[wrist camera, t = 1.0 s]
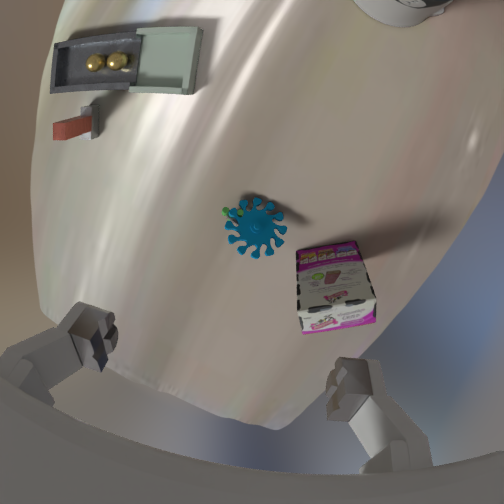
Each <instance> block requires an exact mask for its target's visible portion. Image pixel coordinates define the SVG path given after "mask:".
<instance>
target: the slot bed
mask: <svg viewBox="0 0 504 504" xmlns="http://www.w3.org/2000/svg"><path fill="white" fill-rule="evenodd" d="M136 32H137V31H133V32H122V33H113V34H105V35H98V36H91V37H85V38H79V39H74V40H69V41H64V42H59V43H55V44H54V51H53V60H52V70H51V83H50V94H53V93H63V92H75V91H91V90H129V87H130V86H136V84H137V75H138V66H139V59H140V51H141V44H142V38H143V36H142V35H138V34H136ZM115 51H122V52H124V53H125V54H126V55H127V57H128V62H127V64H126V66H125V67H124V68H123V69H121V70H118V71H113V70H111V69H109V67H108V66H107V59H108V57H109V55H110V54H111V53H113V52H115ZM94 53H100V54H102V55H103V56H104V57H105V65H104V67H103V68H102V69H101V70H100V71H98V72H90V71H88V70H87V68H86V60H87V58H88V57H89V56H90V55H92V54H94Z"/></svg>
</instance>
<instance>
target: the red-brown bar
mask: <svg viewBox="0 0 504 504" xmlns="http://www.w3.org/2000/svg"><path fill="white" fill-rule="evenodd" d="M99 106H100V105H89V106H84V107H81V116H77V117H73V118H70V119H66V120H62V121H59V122H55V123H53V140H68V139H70V138H73V137H76V136H79V135H80V139H84V140H92V139H94V138H97V137H98V131H99Z"/></svg>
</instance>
